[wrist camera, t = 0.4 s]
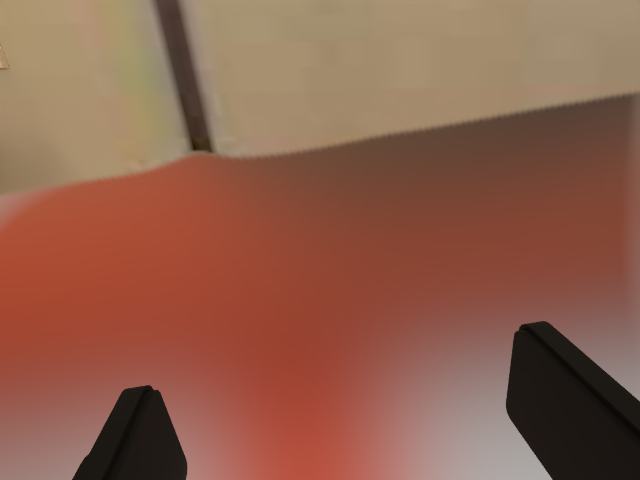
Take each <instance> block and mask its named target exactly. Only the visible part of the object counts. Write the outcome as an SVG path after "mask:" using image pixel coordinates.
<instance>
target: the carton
mask: <svg viewBox="0 0 640 480" xmlns="http://www.w3.org/2000/svg"><path fill="white" fill-rule="evenodd" d="M0 69H10V68H9V66H8V63H7V61H6V58H5V56H4V53H3V51H2V48H1V46H0Z"/></svg>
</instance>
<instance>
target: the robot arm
mask: <svg viewBox="0 0 640 480" xmlns="http://www.w3.org/2000/svg"><path fill="white" fill-rule="evenodd" d="M506 409H507V413H508V415H509V417H510V419H511V421H512V422H513V424H514V425H515V426H516V428H517V429H518V431H519V432H520V434H521V435H522V437H523V438H524V439H525V441H526V442H527V444H528V445H529V446H530V448H531V449H532V451H533V452H534V454H535V455H536V456H537V458H538V459H539V461H540V462H541V463H542V465H543V466H544V468H545V469H546V471H547V472H548V474H549V475H550V476H551V478H552V479H553V480H640V401H639V400H637V399H636V398H635V397H634V396H632V394H630V393H629V392H628V391H627V390H626V389H625V388H624V387H622V386H621V385H620V384H619V383H618V382H617V381H615V380H614V379H613V378H612V377H611V376H610V375H608V374H607V373H606V372H605V371H604V370H603V369H601V368H600V367H599V366H598V365H597V364H596V363H595V362H593V361H592V360H591V359H590V358H589V357H587V356H586V355H585V354H584V353H583V352H582V351H581V350H580V349H578V348H577V347H576V346H575V345H574V344H573V343H571V342H570V341H569V340H568V339H567V338H566V337H564V336H563V335H562V334H561V333H560V332H558V331H557V330H556V329H555V328H554V327H553V326H552V325H551V324H549V323H548V322H545V321H541V322H536V323H529V324H524V325H521V327H520V328H519V331H516V333H515V334H514V341H513V349H512V358H511V366H510V374H509V383H508V391H507V399H506ZM186 476H187V461H186V458H185V455H184V453H183V450H182V448H181V445H180V442H179V440H178V437H177V435H176V432H175V429H174V427H173V424H172V422H171V419H170V416H169V414H168V411H167V409H166V406H165V404H164V401H163V398H162V396H161V393H160V392H159V391H158V390H153V388H152V387H151V386H150V385H147V386H140V387H134V388H128V389H125V390H124V391H123V392H122V393H121V395H120V397H119V399H118V400H117V402H116V404H115V406H114V408H113V410H112V412H111V414H110V416H109V417H108V420H107V421H106V423H105V425H104V427H103V429H102V431H101V433H100V435H99V436H98V438H97V440H96V442H95V444H94V446H93V448H92V450H91V451H90V453H89V454H88V455H87V456H86V457H85V458H84V460H83V461H82V463H81V464H80V466H79V468H78V470H77V472H76V474H75V476H74V477H73V479H72V480H186Z"/></svg>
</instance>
